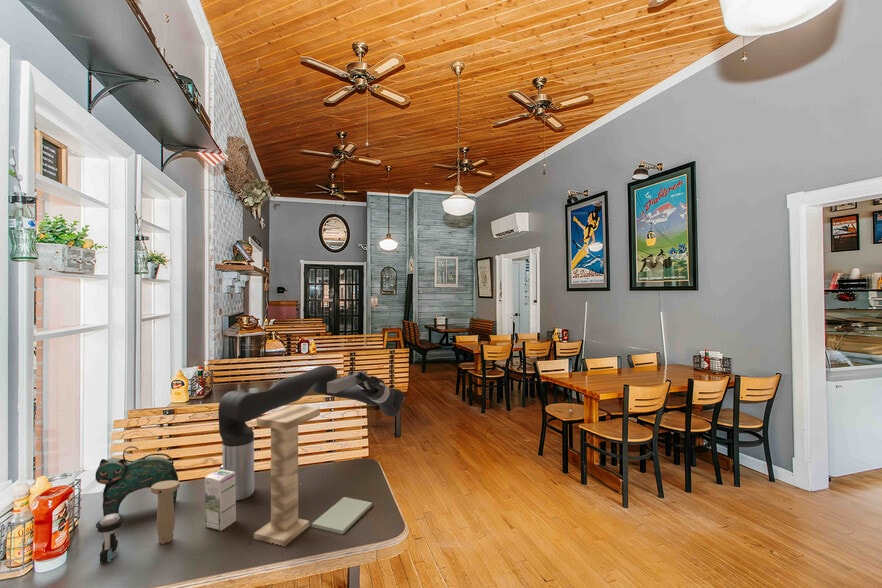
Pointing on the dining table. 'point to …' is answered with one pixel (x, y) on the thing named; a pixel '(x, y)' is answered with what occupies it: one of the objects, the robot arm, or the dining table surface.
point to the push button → (109, 535)
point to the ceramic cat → (132, 477)
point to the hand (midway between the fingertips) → (354, 374)
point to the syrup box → (220, 499)
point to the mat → (342, 515)
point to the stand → (284, 473)
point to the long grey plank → (344, 382)
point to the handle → (165, 509)
